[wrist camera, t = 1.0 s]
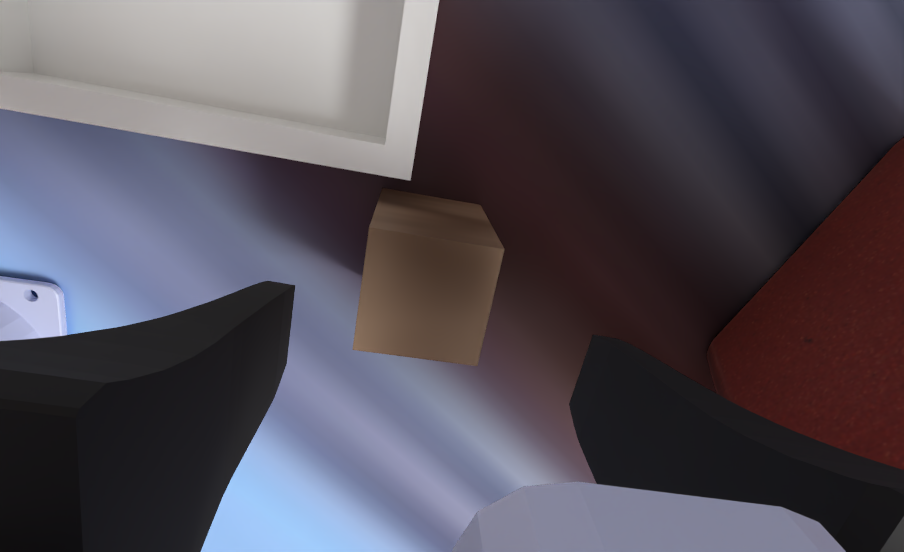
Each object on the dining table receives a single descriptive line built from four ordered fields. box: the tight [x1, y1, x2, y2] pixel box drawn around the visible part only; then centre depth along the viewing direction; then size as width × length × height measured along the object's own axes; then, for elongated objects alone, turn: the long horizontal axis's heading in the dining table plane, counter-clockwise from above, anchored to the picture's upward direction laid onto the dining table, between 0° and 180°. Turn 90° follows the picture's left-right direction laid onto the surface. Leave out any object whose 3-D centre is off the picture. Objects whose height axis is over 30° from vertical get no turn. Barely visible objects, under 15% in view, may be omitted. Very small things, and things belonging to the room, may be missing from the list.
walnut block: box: [353, 188, 505, 366], centre depth 18 cm, size 4×4×6 cm
